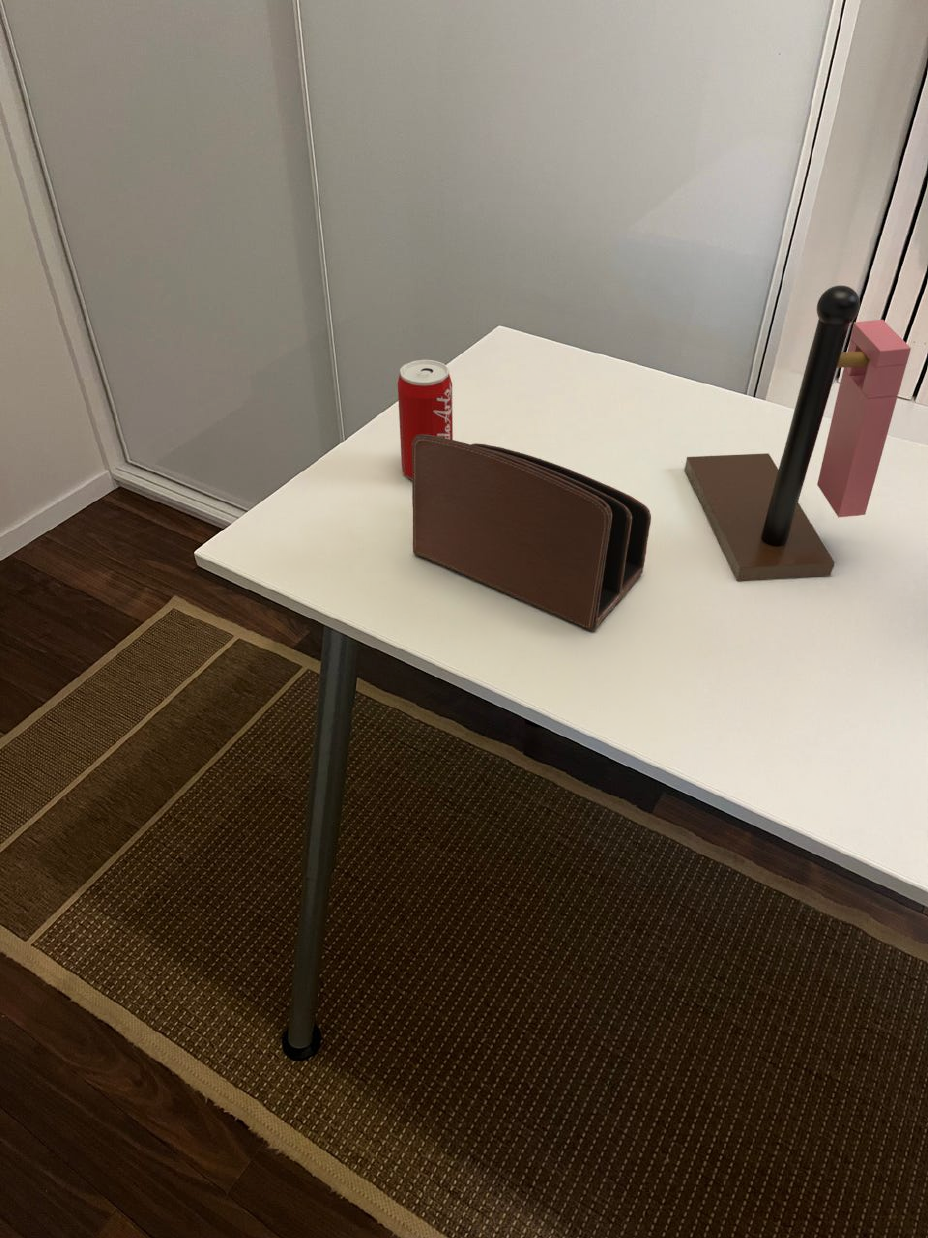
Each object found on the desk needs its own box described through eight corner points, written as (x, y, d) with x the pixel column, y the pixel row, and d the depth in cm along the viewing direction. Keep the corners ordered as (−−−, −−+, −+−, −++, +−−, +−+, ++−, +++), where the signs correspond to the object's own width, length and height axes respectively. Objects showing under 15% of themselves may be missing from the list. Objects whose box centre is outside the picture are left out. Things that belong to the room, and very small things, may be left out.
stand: (788, 464, 102) (856, 217, 85) (857, 574, 88) (955, 305, 71) (684, 469, 102) (730, 220, 84) (736, 581, 88) (805, 310, 70)
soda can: (441, 489, 99) (439, 385, 91) (393, 479, 100) (387, 376, 92) (460, 462, 103) (459, 360, 95) (413, 453, 104) (409, 351, 96)
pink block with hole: (842, 482, 89) (883, 319, 78) (865, 515, 85) (911, 348, 74) (816, 484, 89) (853, 321, 78) (838, 517, 85) (880, 351, 74)
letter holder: (593, 634, 82) (610, 501, 73) (411, 555, 90) (405, 426, 81) (644, 574, 88) (665, 444, 79) (469, 505, 97) (469, 380, 87)
